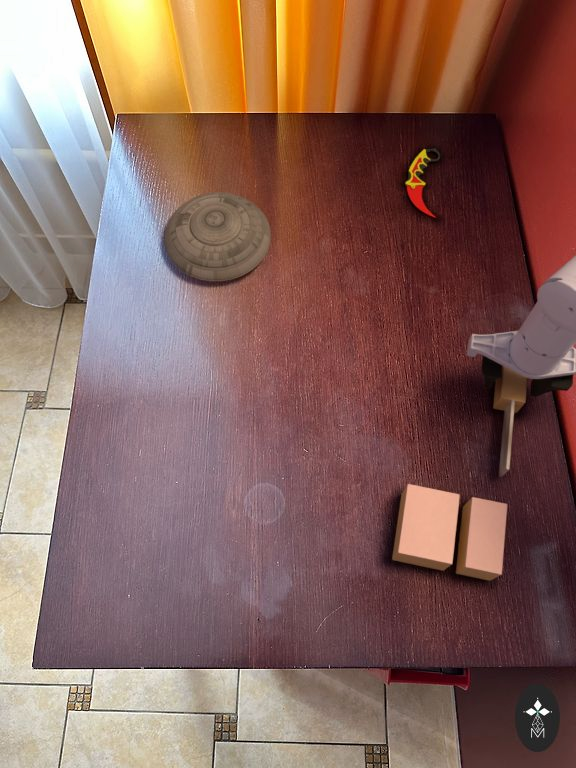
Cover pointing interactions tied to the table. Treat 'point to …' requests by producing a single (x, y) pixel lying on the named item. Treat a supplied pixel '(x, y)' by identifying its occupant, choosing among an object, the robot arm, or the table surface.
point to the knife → (415, 183)
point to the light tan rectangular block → (482, 539)
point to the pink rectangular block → (426, 527)
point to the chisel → (508, 409)
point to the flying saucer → (217, 236)
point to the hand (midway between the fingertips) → (509, 385)
